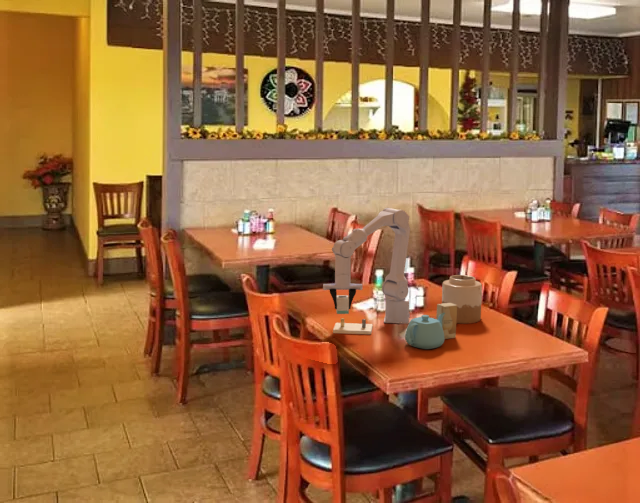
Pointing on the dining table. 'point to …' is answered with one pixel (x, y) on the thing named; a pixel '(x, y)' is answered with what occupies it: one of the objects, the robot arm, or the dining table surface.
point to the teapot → (425, 332)
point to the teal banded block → (342, 304)
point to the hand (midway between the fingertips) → (342, 308)
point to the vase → (463, 297)
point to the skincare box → (448, 319)
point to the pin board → (353, 327)
